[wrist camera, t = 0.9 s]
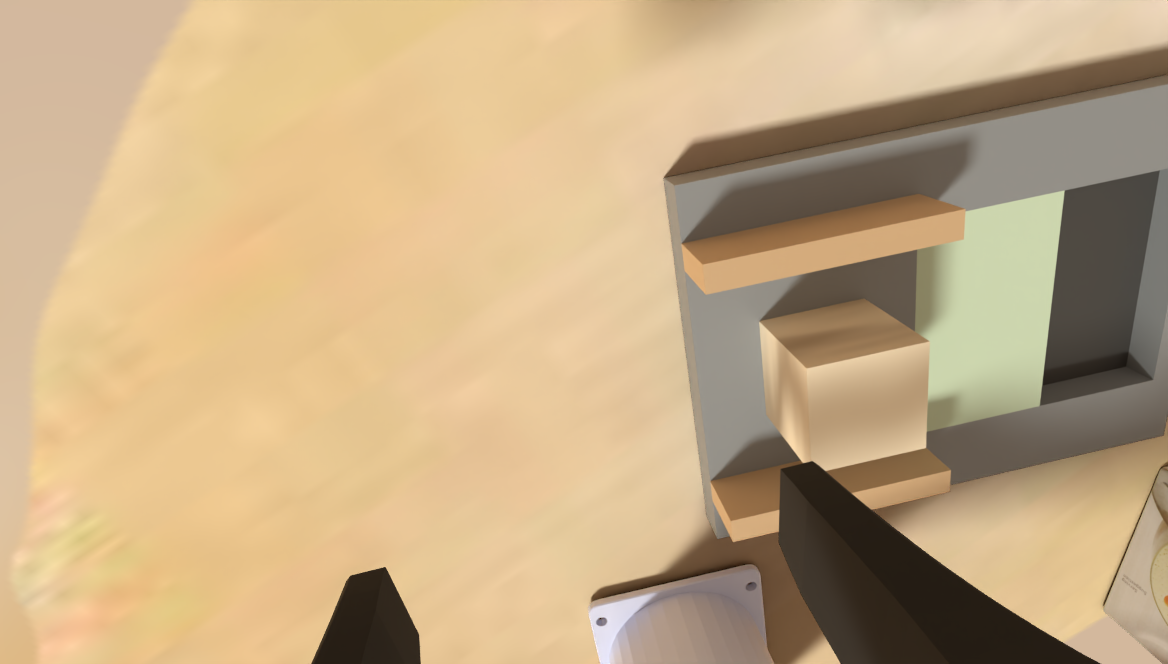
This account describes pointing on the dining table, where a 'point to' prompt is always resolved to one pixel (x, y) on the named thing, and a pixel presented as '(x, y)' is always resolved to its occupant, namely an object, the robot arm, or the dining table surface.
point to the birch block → (845, 383)
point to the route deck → (940, 288)
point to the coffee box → (1145, 577)
